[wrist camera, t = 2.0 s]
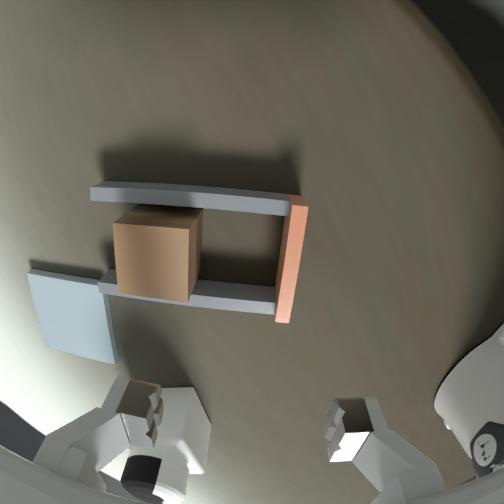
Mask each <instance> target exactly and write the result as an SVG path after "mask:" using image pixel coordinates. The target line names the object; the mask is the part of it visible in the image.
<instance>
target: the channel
mask: <svg viewBox="0 0 504 504" xmlns="http://www.w3.org/2000/svg"><path fill="white" fill-rule="evenodd" d="M90 195H91V201H107V202H125V203H141V204H156V205H171V206H184V207H196V208H208V209H220V210H231V211H242V212H252V213H262V214H272V215H281V216H285V217H284V225H283V232H282V240H281V247H280V254H279V261H278V268H277V275H276V282H275V287H270V286H259V285H248V284H238V283H228V282H218V281H209V280H199V279H197V281H196V283H195V286H194V288H193V291H192V294H191V296H190V299H189V301H188V302H180V301H172V300H164V299H156V298H149V297H142V296H135V295H128V294H121V293H118V284H117V274H116V269H109V270H108V271H107V272H106V273H105V274H104V275H103V276H102V278H101V279H100V280H99V281H98V289H99V293H103V294H109V295H116V296H122V297H129V298H135V299H142V300H149V301H156V302H164V303H171V304H179V305H187V306H196V307H204V308H213V309H222V310H232V311H242V312H253V313H264V314H275V322H283V323H289V319H290V314H291V309H292V303H293V298H294V292H295V287H296V281H297V275H298V269H299V264H300V258H301V251H302V245H303V239H304V233H305V226H306V220H307V213H308V205H307V204H306V202H305V201H304V199H303V198H302V196H300V195H291V194H283V193H273V192H264V191H254V190H244V189H233V188H221V187H209V186H195V185H180V184H163V183H143V182H118V181H105V182H102V183H99V184H97V185H94V186H92V187H90Z"/></svg>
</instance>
